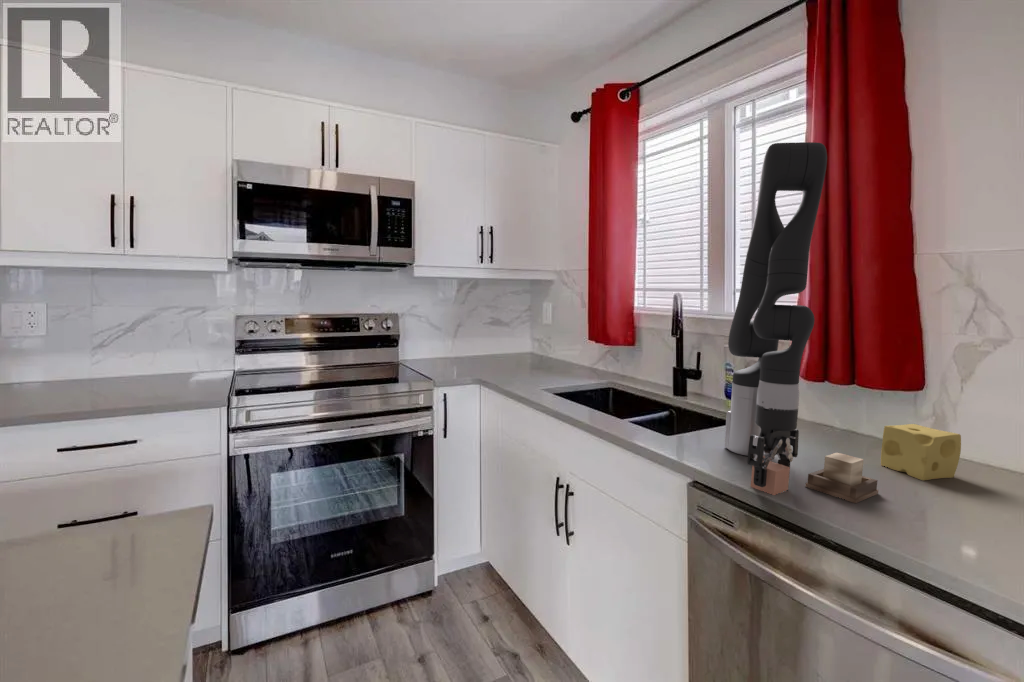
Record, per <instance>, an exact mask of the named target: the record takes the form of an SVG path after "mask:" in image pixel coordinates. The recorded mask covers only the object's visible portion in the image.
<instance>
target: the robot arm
mask: <svg viewBox="0 0 1024 682" xmlns="http://www.w3.org/2000/svg"><path fill="white" fill-rule="evenodd" d="M827 151H828V150H827V148H826V146H825V144H824V143H821V142H814V141H813V142H811V141H810V142H808V141H806V142H805V141H803V142H802V141H801V142H800V141H799V142H776V143H775V142H774V143H772V144H770V145H769V147H768V148H767V150H766V151H765V153H764V156H763V161H762V166H761V173H760V179H759V186H758V194H757V202H756V209H755V217H754V221H753V226H752V231H751V235H750V239H749V243H748V247H747V251H746V257H745V262H744V267H743V274H742V279H741V285H740V292H739V297H738V300H737V304H736V308H735V310H734V311H735V312H734V314H733V318H732V322H731V324H730V325H731V326H730V329H729V334H728V341H727V342H728V343H727V344H728V350H729V352H730V354H731V355H733V356H734V357H742V358H758V359H757V361H756V362H755V363H754V364H751V365H750V366H748V367H745V368H742V369H738V370H735V371H734V372H733V374H732V380H731V381H732V386H731V397H730V398H731V399H730V410H728V411H726V419H725V431H724V432H725V433H724V449H728V450H729V451H730V452H732V453H734V454H736V455H737V454H738V455H742V456H747V459H746V461H747V463H746V464H747V465H749V466H751V467H752V466H754V484H755V485H757V486H760V487H765V486H766V478H767V469H766V468H767V466H768V464H769V462H770V461H773V460H774V458H775V456H777V458H778V459H777V463H778V464H781V465H784V466H787V467H790V468H791V463H792V462H793V460H794V459H793V458H798V455H799V436H800V435H799V434H800V432H799V429H797V426H798V420H799V419H798V417H799V406H800V405H799V404H800V403H799V402H800V389H799V387H800V384H799V382H800V376H801V375H800V373H801V372H800V370H801V362H802V359H803V354H804V351H805V348H806V345H807V343H808V341H809V339H810V336H811V333H812V331H813V329H814V325H815V315H814V313H813V311H812V310H811V308H810V307H808V306H807V305H800V304H797V305H795V304H793V305H792V304H776V303H777V301H778V300H779V299H780V298H782V297H784V296H789V295H795V294H800V293H801V292H804V291H805V289H806V288H807V282H808V274H809V273H808V271H809V259H810V257H809V256H810V248H811V242H812V236H813V232H814V228H815V224H816V220H817V215H818V211H819V206H820V202H821V197H822V192H823V187H824V183H825V177H826V171H827V165H828V152H827ZM779 191H780V192H783V191H784V192H790V191H791V192H802V195H801V200H800V203H799V206H798V208H797V209H796V211H795V213H794V214H793V216H792V218H790V221H789V222H788V223H787V224H786V225H785V226H784V224H783V221H782V219H781V217H780V215H779V212H778V209H777V205H776V196H777V192H779ZM753 317H754V318H753ZM780 341H791V344H790V346H789V347H788V348H785V349H782V350H778V348H779V342H780ZM790 472H791V471H790ZM790 472H789V474H790Z"/></svg>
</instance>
